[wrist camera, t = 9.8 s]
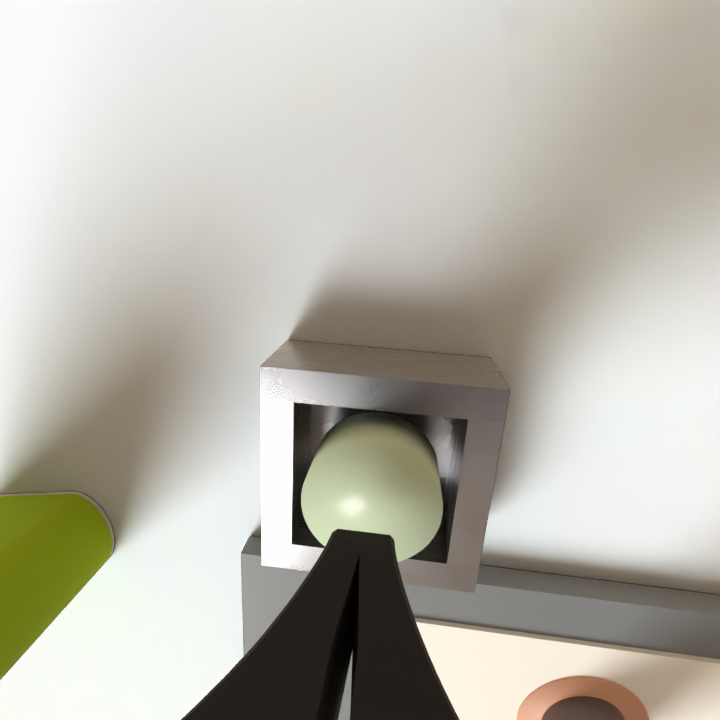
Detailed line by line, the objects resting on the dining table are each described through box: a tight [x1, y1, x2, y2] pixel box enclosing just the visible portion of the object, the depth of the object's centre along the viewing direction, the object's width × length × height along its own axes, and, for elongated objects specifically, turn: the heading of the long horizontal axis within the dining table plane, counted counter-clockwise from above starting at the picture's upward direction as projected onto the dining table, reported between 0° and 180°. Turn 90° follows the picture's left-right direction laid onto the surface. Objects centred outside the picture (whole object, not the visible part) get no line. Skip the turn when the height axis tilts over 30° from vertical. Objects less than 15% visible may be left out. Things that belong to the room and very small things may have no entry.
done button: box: [301, 412, 443, 562], centre depth 13 cm, size 4×4×2 cm
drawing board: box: [241, 536, 720, 720], centre depth 19 cm, size 20×14×1 cm
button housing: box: [260, 340, 510, 593], centre depth 15 cm, size 7×7×3 cm
